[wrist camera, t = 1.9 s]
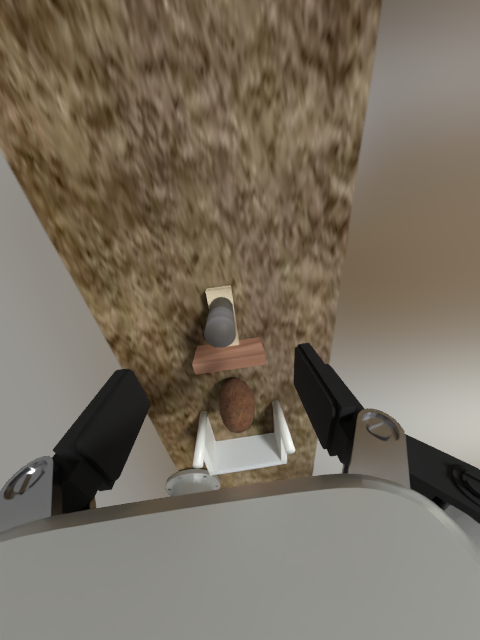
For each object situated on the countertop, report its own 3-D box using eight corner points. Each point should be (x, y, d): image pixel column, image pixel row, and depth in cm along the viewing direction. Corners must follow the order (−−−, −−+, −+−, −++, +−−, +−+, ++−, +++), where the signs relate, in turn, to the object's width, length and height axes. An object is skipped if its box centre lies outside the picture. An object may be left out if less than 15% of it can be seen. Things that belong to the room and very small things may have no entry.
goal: (199, 411, 31) (191, 464, 24) (279, 399, 31) (295, 447, 24) (211, 445, 36) (207, 498, 29) (280, 435, 36) (293, 484, 29)
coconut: (213, 382, 28) (209, 431, 21) (236, 364, 27) (240, 410, 20) (234, 397, 30) (237, 447, 23) (257, 381, 29) (267, 429, 22)
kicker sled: (181, 292, 21) (161, 318, 14) (254, 282, 21) (269, 303, 14) (199, 355, 25) (190, 398, 18) (260, 346, 25) (272, 386, 19)
